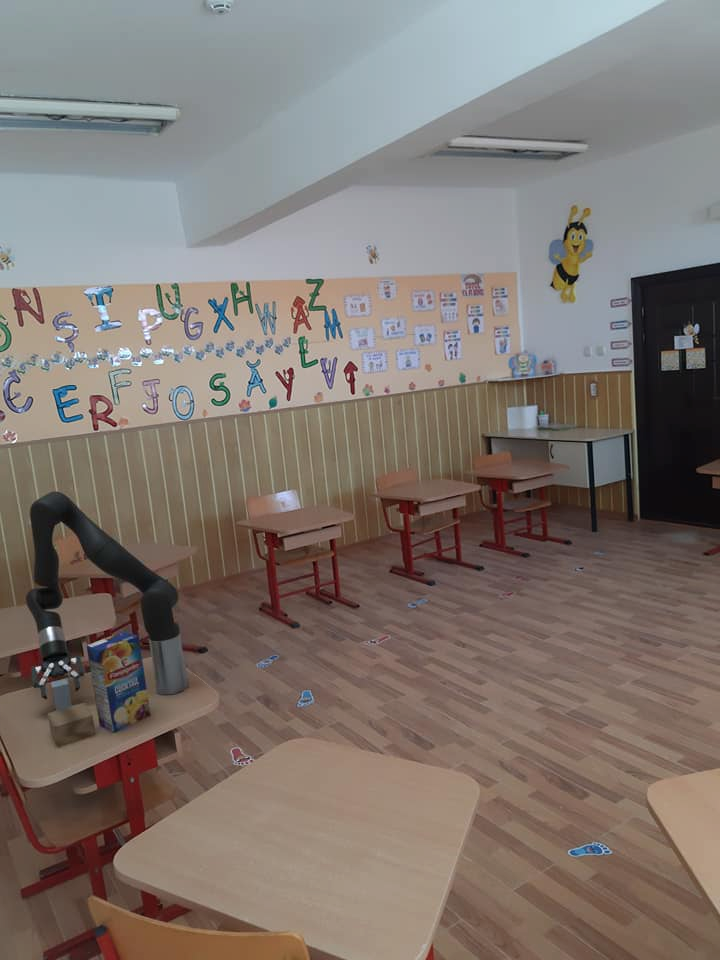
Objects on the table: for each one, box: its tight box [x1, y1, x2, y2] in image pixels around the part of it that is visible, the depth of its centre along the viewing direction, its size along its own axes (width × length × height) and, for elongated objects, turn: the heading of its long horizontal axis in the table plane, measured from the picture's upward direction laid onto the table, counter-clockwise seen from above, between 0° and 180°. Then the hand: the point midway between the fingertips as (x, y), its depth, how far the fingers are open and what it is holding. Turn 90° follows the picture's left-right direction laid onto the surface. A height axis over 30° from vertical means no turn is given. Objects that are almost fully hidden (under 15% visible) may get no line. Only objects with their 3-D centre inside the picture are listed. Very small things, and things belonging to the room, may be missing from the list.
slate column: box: [50, 678, 73, 711], centre depth 218 cm, size 4×4×10 cm
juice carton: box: [86, 631, 151, 734], centre depth 210 cm, size 12×8×24 cm, turn 139°
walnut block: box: [47, 701, 96, 748], centre depth 206 cm, size 10×10×6 cm
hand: (61, 694), depth 218 cm, fingers open, 8 cm apart
